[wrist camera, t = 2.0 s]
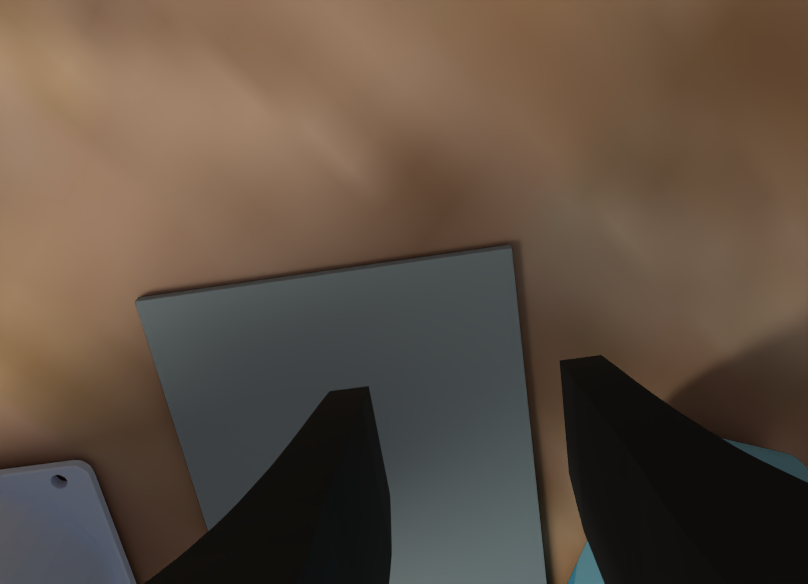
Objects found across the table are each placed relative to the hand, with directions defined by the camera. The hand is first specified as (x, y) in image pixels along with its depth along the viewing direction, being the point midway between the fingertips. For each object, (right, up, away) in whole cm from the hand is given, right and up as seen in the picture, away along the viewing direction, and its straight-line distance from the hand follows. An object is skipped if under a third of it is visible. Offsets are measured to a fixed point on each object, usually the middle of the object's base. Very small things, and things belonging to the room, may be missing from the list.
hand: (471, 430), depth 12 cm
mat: (-2, -8, +15) cm, 17 cm away
